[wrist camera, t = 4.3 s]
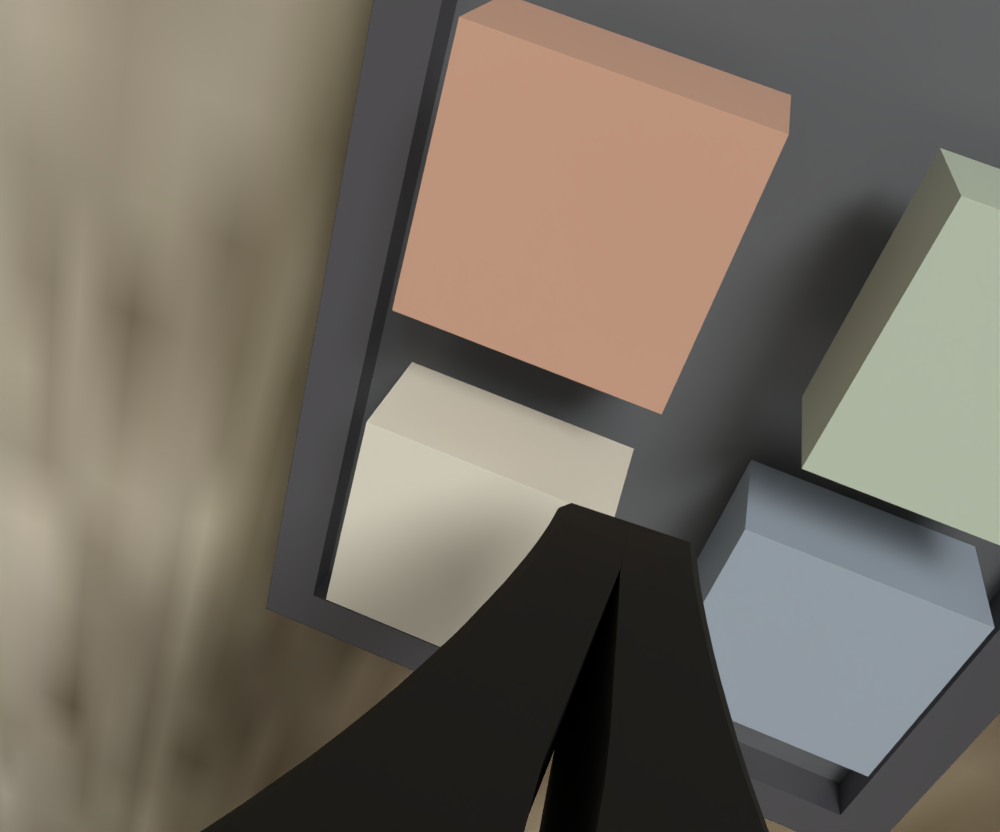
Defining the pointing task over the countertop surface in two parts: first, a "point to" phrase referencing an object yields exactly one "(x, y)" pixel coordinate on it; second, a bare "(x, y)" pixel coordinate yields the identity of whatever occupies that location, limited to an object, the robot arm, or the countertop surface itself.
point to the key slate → (834, 616)
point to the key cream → (458, 500)
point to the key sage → (921, 361)
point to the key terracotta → (584, 197)
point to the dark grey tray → (724, 333)
